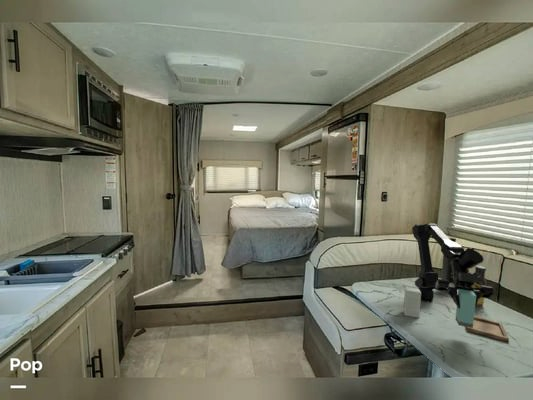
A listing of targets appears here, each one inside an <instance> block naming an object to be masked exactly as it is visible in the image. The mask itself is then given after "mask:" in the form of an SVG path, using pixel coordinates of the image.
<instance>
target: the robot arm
mask: <svg viewBox="0 0 533 400" xmlns="http://www.w3.org/2000/svg"><path fill="white" fill-rule="evenodd" d="M411 231H412V232H411V233H413V234H412V235H413V237H414V239H415V240H416V242H417V247H418V252H419V253H418V254H419V260H420V261H419V262H420V270H419V273H418V278H417V279H415V281H414V286H415V287H416V288H417V289H419V290H420V292H421V301H424V302H427V303H433V300H434V294H435V293H434V290H436V291H441V292H445V294H448V295H449V297H450V298H451V299H452V301H453V303H454V304H455V305H456V308H457V307H458V308H460V302H459V298H458V290H459V289H462V290H469V291H473V293H474V294H475V295H476V303H475V311H476V309H477V307H478V306H477V302H478V299H480V298H481V297H482V298H484V299H491V298H492V297H493V296H494V295H495V294H496V291H495V289H494V287H492V286H489V285H488V286H487V285H486V286H483V285H481V286H480V287H479V288H475V287H472V285H474V282H475V283H476V281H479V282H480V281H481V274H480V273H475V272H473V273H471V272H470V269H473V268H475V267H476V266H479V265H480V264H482V263H483V262H484V256H483V255H482V254H481V253H480V252H478V251H477V250H475V249H474V247H468V248H466V249H465V248H464V247H463V246H462V245H460V244H459V243H458V242H456V243H455V242H453V241H451V240H450V239H449V238H450V237H448V236H447V235H446V234H445V233H444V232H443V231H442V229H441V228H439V225H438V224H437V223H425V224H414V225H413V226H412V228H411ZM431 237H432V239H434V240H435V241H436V243H437V244H438V245H439V246H440V252H441V253H442V256H445V257H446V258H459V259H454V260H452V261H451V262H450V264H449V266H452V270H453V279H454V284H452V283H449V280H443V279H441V278H439V273H438V272H437V271H436V272H435V270H434V269H433V263H432V257H431V249H430V242H429V241H430V239H431ZM445 290H446V291H445Z"/></svg>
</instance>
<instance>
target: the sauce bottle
mask: <svg viewBox="0 0 533 400" xmlns="http://www.w3.org/2000/svg"><path fill="white" fill-rule="evenodd" d="M474 269H475V270H474V273H480V274H481V281H480V282H479V281H476V283H475V282H474V285H472V287H475V288H479V287H480V286H481V285H483V286H487V280H486V278H485V277H486V276H485V275H486V273H485V272H486V271H487V268H486V267H485V266H482V265H477V266H475V267H474ZM484 303H485V298H482V297H481V298H480V299H478V302H477V306H476V307H478V308H480V307H483V306H484Z"/></svg>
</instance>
